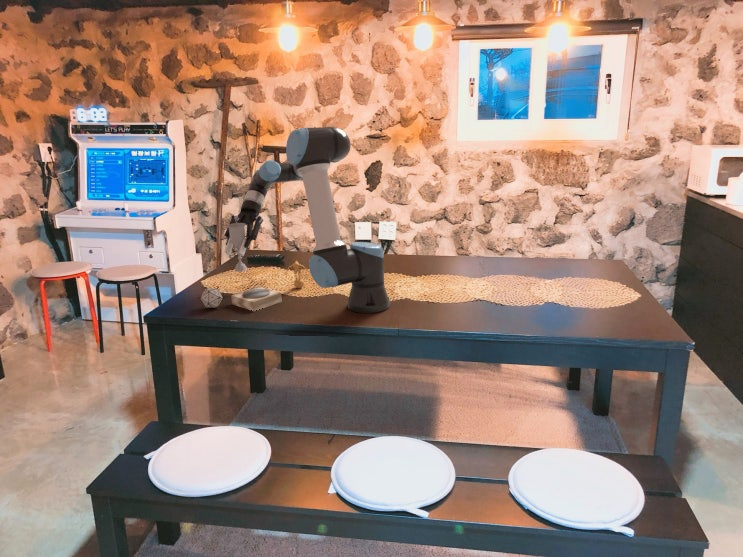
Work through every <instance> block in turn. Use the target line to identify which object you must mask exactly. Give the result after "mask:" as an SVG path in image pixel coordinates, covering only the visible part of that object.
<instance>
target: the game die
mask: <svg viewBox="0 0 743 557" xmlns="http://www.w3.org/2000/svg"><path fill="white" fill-rule="evenodd" d="M219 289H220V286H217V287H208V288H207V287H206V286H204V290H203V292H202V294H201V296H198V297H197V299H199V300H200V301H201V302H202V304H203V305H204V309H205V310H206V309H211V308H215V309H216V310H219V309H220V307H219V306H220V304H221V302H222V301H223V299H226V297H224V296H223V295H222V294H221V292H220V290H219Z"/></svg>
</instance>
